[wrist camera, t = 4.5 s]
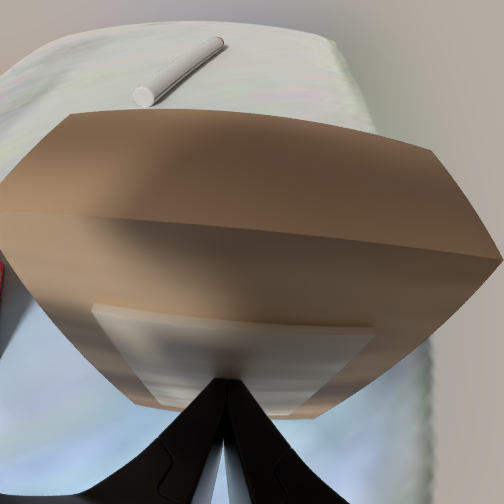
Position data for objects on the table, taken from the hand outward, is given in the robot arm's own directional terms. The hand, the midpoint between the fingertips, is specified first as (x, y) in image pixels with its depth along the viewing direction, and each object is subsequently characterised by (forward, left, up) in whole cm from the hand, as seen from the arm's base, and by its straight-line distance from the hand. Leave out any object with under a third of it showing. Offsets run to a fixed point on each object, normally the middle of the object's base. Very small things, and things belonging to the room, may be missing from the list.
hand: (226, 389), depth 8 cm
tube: (+43, -5, -9) cm, 44 cm away
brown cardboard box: (+1, 0, -8) cm, 8 cm away
